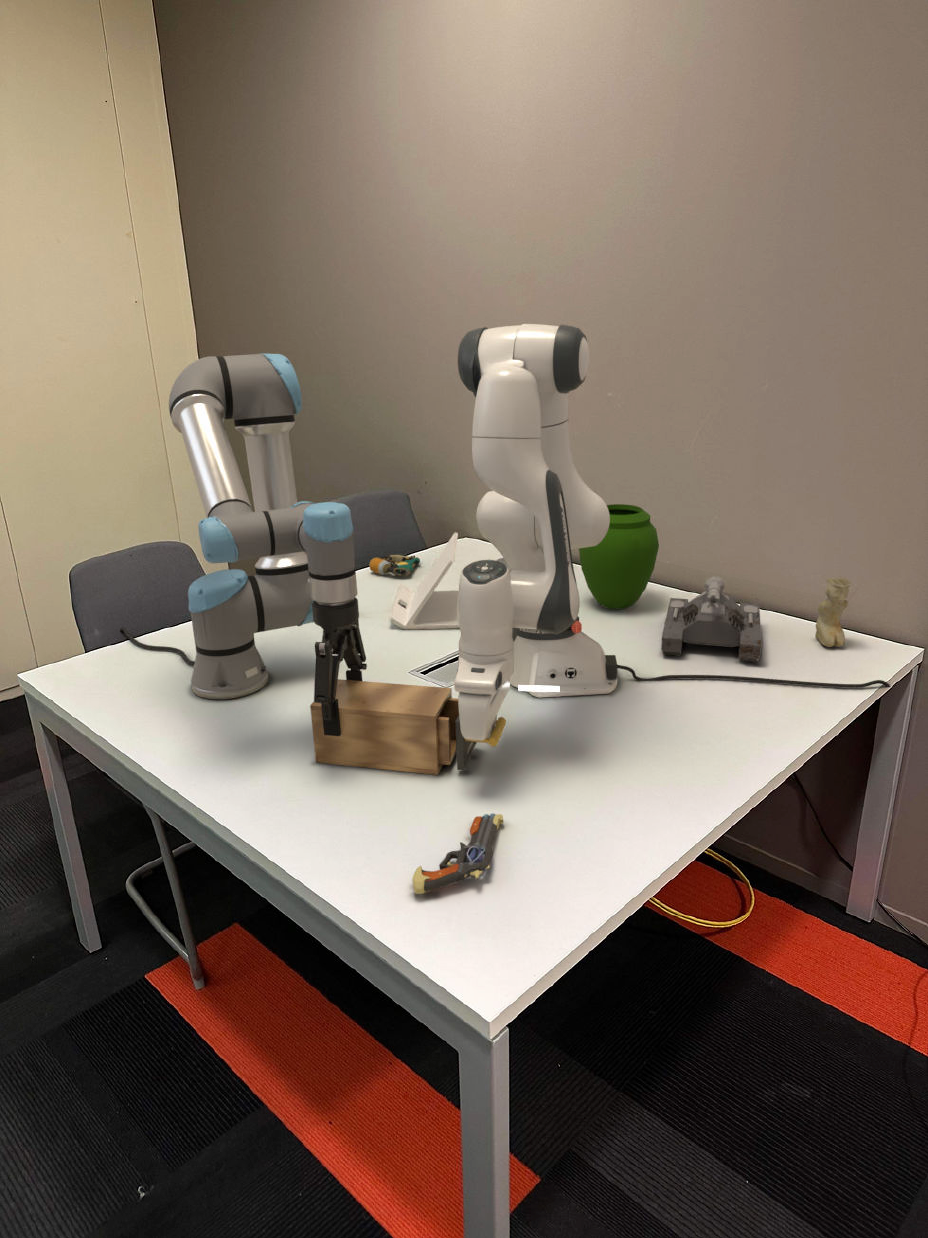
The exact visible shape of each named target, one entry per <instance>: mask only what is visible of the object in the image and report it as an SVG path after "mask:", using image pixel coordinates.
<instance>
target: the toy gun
mask: <svg viewBox="0 0 928 1238" xmlns="http://www.w3.org/2000/svg"><path fill="white" fill-rule="evenodd" d="M502 824H504V815H503V814H501V813H499V814H497V813H494V812H493V813H490V814H488V813H485V814H483V815H482V816H475V817H474V818H473V821H472V823H471V825H470V828H469V835H470V837H471V839H470V841H469V843H468V844H465V843H464V842H461V841H460V842H459V844H460V849H459V850H452V851H448V852H447V853H446V855H445V857H444V859H443V860H442V861H441V862H440V863H439V864H438V867H439V870H438V869H437V870H433V871H432V870H424V869H423V868H422V865H420V866H418V867H416V869H415V871H414V873H413V875H412V886H413V892H414V893H415V895H424V894H425V893H428V892H431V891H436V890H439V889H441V888H444V887H447V886H449V885H452V884H457V883H460V882H463V881H466V880H467V879H468V878H470V877H471V878H472V877H473V876H474V878H475V880H477V879H479V877H480V875H482V874H483V871H485V870H487V869H490V865H491V863H492V859H493V852H494V850H493V845H494V842H495V839H496V835H497V831H498V829H499V827H500V825H502ZM453 859H455V860H456V861H455V862H454V863H451V860H453ZM467 861H468V862H467Z"/></svg>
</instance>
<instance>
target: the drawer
mask: <svg viewBox="0 0 928 1238" xmlns="http://www.w3.org/2000/svg"><path fill="white" fill-rule="evenodd" d="M506 725H507V719H506V717H503V716H500V717H498V718H497V719H496V724H495V727H494V729H493V731H492V734H491V736H490V738H486V739H485V740H483V741H478V740H468V739H465V738H464V737H463V735H462V733H461V727H460V718H459V706H458V697H457V698H456V697H452V698H448V700H447V702H446V703H445V705H444V707H443V709H442V710H441V712H440V714H439V716H438V717H437V734H438V758H439V764H443V765H445V766H446V765H447V766H451V764H452V761H453V760H454V757H455V756H456V770H457V771H462V772H464V771H465V770H466V768H467V765H468V763H469V761H470V759H471V756H472V754H473V752H474V750H475V748H476V746H477V744H478V743H486V744H488V745H489V746H490V747H494V748H495V747H497V746H498V744H499V741H500V739H501V738H502V737H501V736H502V734H503V732H504V729H505V727H506Z"/></svg>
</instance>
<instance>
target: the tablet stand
mask: <svg viewBox="0 0 928 1238" xmlns="http://www.w3.org/2000/svg"><path fill="white" fill-rule="evenodd" d="M458 537H459V533H458V532H456V531H455V532H453V534H452V535H451V537H450V539H449V540H448V542H447V543H446V544H445V546H444V548H443V549H442V551H441V552H440V554H439V555H438V556H437V558H436V559H435V561H434V562H433V564H432V565H431V567H430V568H429V569H428V571H427V573H426V574H425V575H424V577H423V579H422V580H421V581H420V583H419V584H418V585H417V587H416V589H415V590H412V589H410V588H409V587H407V586H406V585H403V584H400V585H399V586H398V589H397V591H396V595H395V598H394V601H393V604H392V607H391V610H390V612H389V613H390V614H389V617H388V621H389V622H391V623H392V624H394V625H396V626H398V627H399V628H401V629H402V630H426V629H427V630H429V629H430V630H431V629H435V630H436V629H437V630H438V629H460V626H459V623H458V591H459V590H436V589H437V587H438V585H440V582H441V581H442V580H443V578H444V577H445V575H446V574H447V573H448V571H449V570H450V569H451V567H452V566H453V564H454V562H455V558H456V553H457V545H458ZM399 603H400V604H399ZM402 605H403V606H405V607H403V606H402Z"/></svg>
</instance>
